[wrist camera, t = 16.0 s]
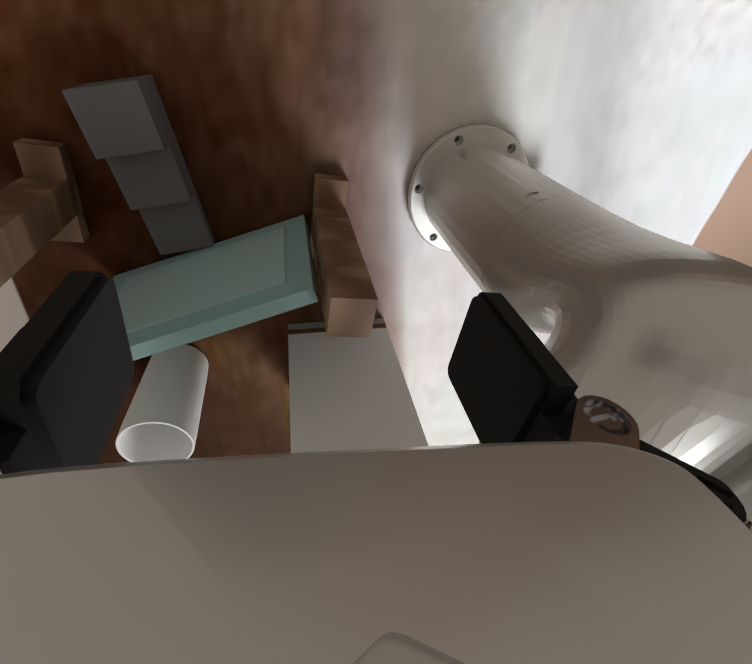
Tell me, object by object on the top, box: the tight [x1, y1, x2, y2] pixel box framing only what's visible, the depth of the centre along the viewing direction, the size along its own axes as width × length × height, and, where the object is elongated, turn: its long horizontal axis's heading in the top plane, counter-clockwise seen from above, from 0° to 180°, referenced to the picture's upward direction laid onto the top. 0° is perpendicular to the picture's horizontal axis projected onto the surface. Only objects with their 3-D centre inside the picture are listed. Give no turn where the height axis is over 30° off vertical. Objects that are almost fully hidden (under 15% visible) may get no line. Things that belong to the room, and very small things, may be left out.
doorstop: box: [61, 74, 215, 255], centre depth 34 cm, size 5×14×4 cm, turn 6°
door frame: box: [0, 138, 378, 337], centre depth 30 cm, size 26×8×18 cm, turn 80°
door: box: [113, 215, 319, 361], centre depth 34 cm, size 19×1×14 cm, turn 104°
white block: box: [288, 318, 428, 453], centre depth 38 cm, size 11×11×35 cm
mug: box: [116, 344, 208, 462], centre depth 44 cm, size 10×7×12 cm, turn 150°
